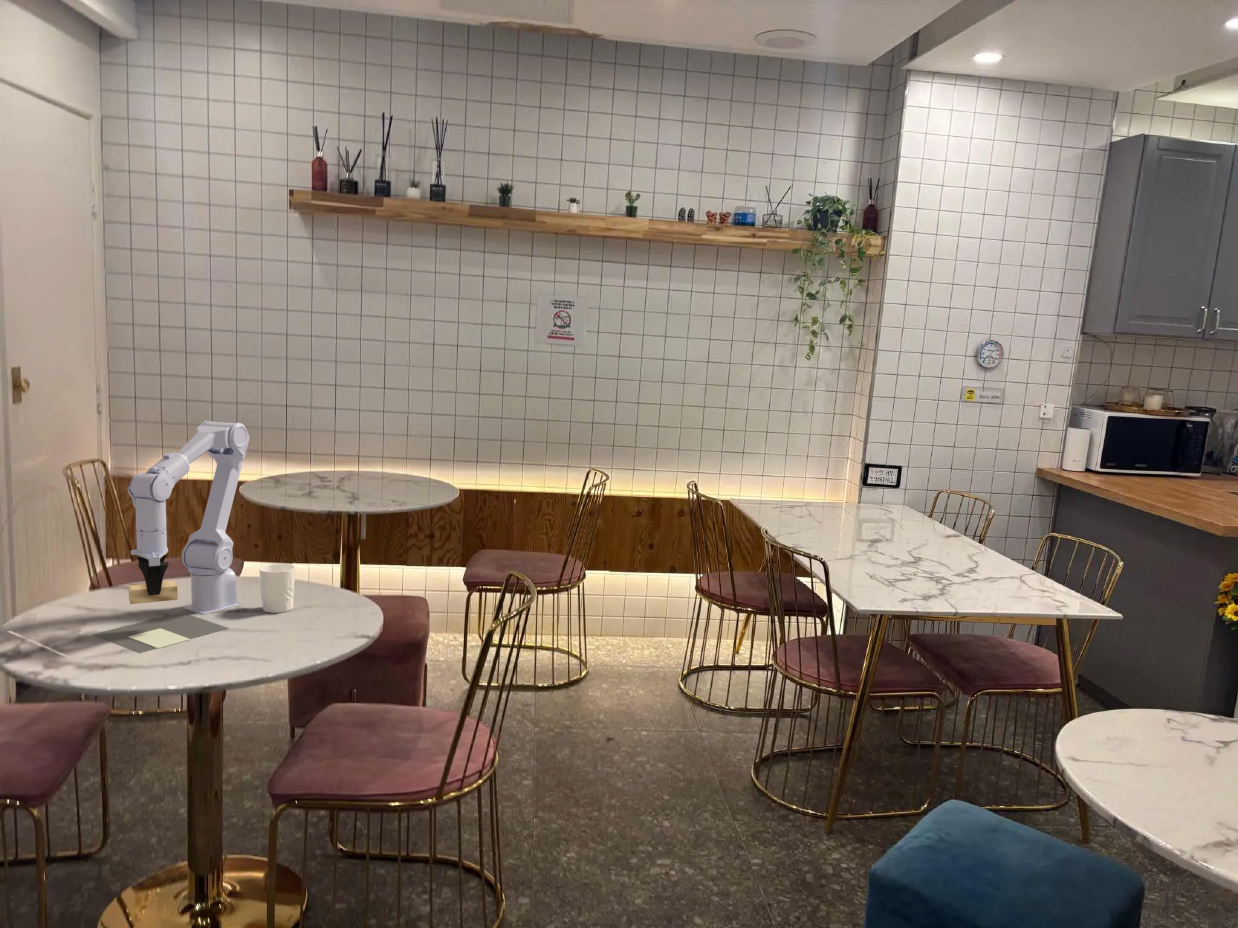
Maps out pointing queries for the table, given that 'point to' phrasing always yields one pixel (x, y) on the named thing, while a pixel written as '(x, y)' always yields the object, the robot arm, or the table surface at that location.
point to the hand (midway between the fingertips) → (153, 591)
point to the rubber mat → (160, 632)
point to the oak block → (141, 595)
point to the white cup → (277, 587)
